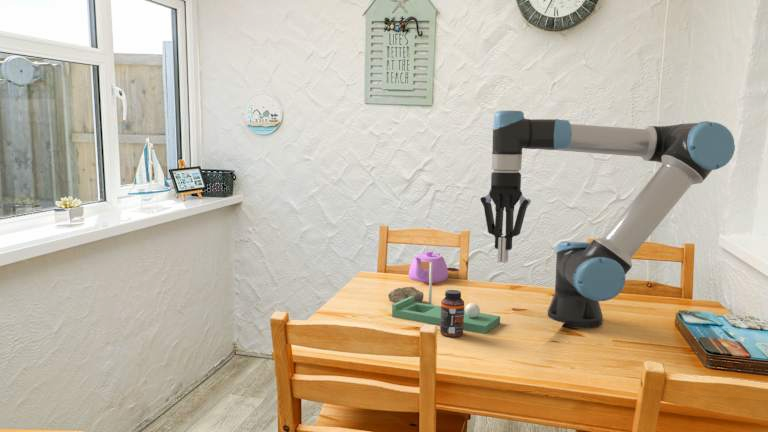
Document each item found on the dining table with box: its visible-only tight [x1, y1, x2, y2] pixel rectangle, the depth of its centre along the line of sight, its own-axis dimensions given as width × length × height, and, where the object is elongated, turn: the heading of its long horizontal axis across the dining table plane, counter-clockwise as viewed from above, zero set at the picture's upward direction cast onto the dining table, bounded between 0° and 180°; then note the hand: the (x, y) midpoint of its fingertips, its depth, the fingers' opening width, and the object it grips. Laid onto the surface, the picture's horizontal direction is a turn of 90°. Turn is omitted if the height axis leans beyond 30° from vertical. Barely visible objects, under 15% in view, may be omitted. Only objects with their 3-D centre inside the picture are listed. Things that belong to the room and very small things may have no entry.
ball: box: [464, 302, 481, 318], centre depth 160 cm, size 4×4×4 cm
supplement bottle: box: [439, 289, 465, 338], centre depth 152 cm, size 6×6×11 cm
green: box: [391, 296, 501, 335], centre depth 165 cm, size 28×11×4 cm, turn 59°
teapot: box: [408, 250, 449, 284], centre depth 210 cm, size 13×20×11 cm
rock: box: [388, 286, 425, 304], centre depth 181 cm, size 8×11×4 cm
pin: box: [421, 261, 433, 305], centre depth 174 cm, size 5×3×14 cm, turn 59°
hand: (502, 261), depth 155 cm, fingers closed
